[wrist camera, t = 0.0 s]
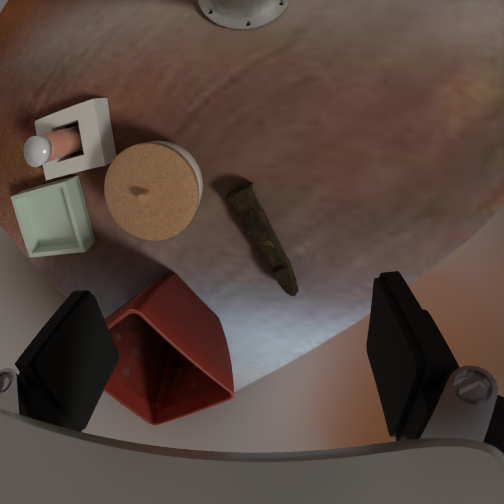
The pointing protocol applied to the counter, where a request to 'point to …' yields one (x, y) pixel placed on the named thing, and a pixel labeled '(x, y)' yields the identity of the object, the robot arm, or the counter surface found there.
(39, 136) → the cylinder
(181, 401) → the plant pot
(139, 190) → the lidded bowl
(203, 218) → the counter surface
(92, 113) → the block
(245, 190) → the hand tool
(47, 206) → the parts tray
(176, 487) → the robot arm
